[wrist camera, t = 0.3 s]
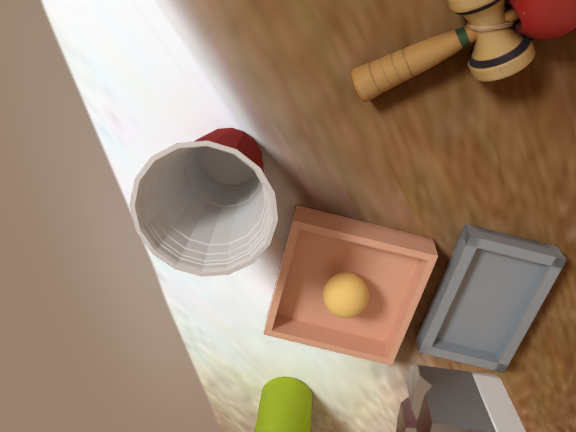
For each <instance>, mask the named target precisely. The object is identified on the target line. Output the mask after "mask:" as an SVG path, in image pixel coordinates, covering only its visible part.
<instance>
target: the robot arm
mask: <svg viewBox="0 0 576 432" xmlns="http://www.w3.org/2000/svg"><path fill="white" fill-rule="evenodd" d="M406 384H407V388H408V393H409V397H408V398H406V399H405V400H404V401H403V402H401V405H400V409H399V414H398V418H397V428H396V432H526V430H525V428H524V426H523V424H522V422H521V420H520V418H519V416H518V414H517V412H516V410H515V408H514V406H513V404H512V402H511V400H510V398H509V396H508V394H507V391H506V389H505V387H504V385H503V383H502V381H501V379H500V378H499V377H498V376H497V375H495V374H488V373H479V372H471V371H468V372H467V371H459V370H452V369H445V368H437V367H430V366H422V365H415V364H413V365H412V367H411V369H410V371H409V375H408V379H407V382H406Z"/></svg>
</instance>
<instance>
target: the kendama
mask: <svg viewBox="0 0 576 432" xmlns="http://www.w3.org/2000/svg"><path fill="white" fill-rule="evenodd" d="M447 1H448V5H449V8H450V10H451V11H452V12H454V13H456V14H459V15H461V16H462V17H464V18H465V19H466V20H467V21H468V22H467V25H466V26H464V27H462V28H458V29H455V30H452V31H449V32H446V33H443V34H440V35H437V36H434V37H431V38H428V39H426V40H423V41H420V42H418V43H415V44H413V45H410V46H408V47H406V48H404V49H403V50H402V49H401V50H398V51H396V52H393V53H392V54H389V55H386V56H384V57H382V58H379V59H376V60H374V61H372V62H370V63H366V64H363V65H361V66H358V67H355V68H353V69H351V78H352V82H353V84H354V87H355V90H356V92H357V94H358V95H359V97H360V98H361V100H363V101H364V102H368V101H370V100H372V99H373V98H375V97H377V96H379V95H380V94H382V92H383V93H384V92H386V91H388V90H389V89H391V88H392V87H395V86H397V85H399V84H401V83H402V82H404V81H407V80H409V79H410V78H412V77H413V76H416V75H418V74H420V73H422V72H424V71H426V70H428V69H430V68H431V67H433V66H435V65H437V64H438V63H440V62H442V61H443V60H445V59H447V58H448V57H450V56H452V55H453V54H455V53H456V52H458V51H460V50H461V49H463V48H464V47H466V46H467V45H469V44H471V43H472V42H474V41H475V45H474V50H473V53H472V55H471V57H470V58H469V60H468V67H469V69H470V71H471V74H472V76H473V78H474V79H476V80H478V81H495V80H499V79H503V78H506V77H509V76H511V75H513V74H515V73H517V72H519V71H521V70H522V69H524V68H525V67H526V66H527V65H528V64H530V62H531V61H532V60H533V58H534V56H535V49H534V45H533V41H532V39H539V40H546V39H553V38H557V37H560V36H563V35H565V34H567V33H568V32H570V31H572V30H573V29H575V28H576V0H447Z"/></svg>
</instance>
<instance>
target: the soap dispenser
mask: <svg viewBox="0 0 576 432" xmlns="http://www.w3.org/2000/svg"><path fill="white" fill-rule="evenodd" d="M311 413H312V393H311V390H310V389H309V387H308V386H307V385H306V384H305V383H303V382H302V381H300V380H298V379H295V378H291V377H279V378H275V379H272V380H271V381H269V382H268V383H267V384H266V385H265V386H264V387H263V390H262V394H261V399H260V405H259V410H258V416H257V422H256V427H255V432H310V428H311Z"/></svg>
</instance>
